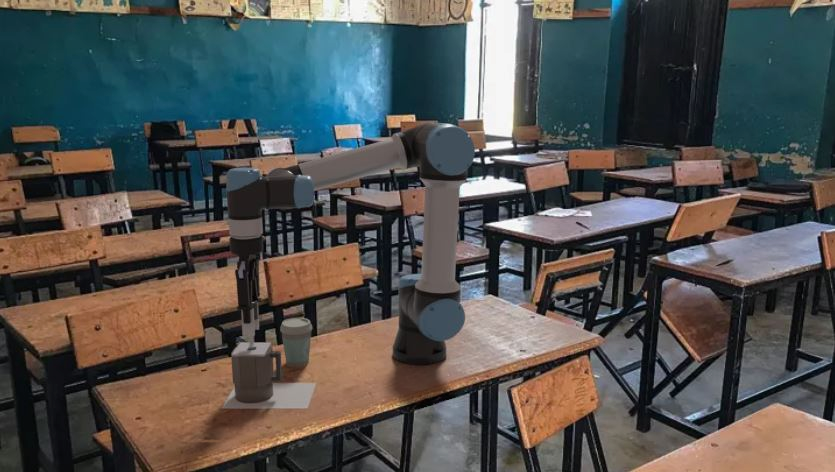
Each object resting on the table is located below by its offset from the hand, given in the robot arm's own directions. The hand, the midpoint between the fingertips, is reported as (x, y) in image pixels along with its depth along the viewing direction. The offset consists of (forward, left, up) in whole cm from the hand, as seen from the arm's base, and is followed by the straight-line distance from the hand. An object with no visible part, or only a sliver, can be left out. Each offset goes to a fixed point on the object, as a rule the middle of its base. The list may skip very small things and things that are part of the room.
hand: (251, 332), depth 162 cm
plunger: (0, 0, -9) cm, 9 cm away
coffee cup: (-7, -20, -17) cm, 27 cm away
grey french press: (-1, 0, -16) cm, 16 cm away
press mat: (-4, 0, -17) cm, 17 cm away
